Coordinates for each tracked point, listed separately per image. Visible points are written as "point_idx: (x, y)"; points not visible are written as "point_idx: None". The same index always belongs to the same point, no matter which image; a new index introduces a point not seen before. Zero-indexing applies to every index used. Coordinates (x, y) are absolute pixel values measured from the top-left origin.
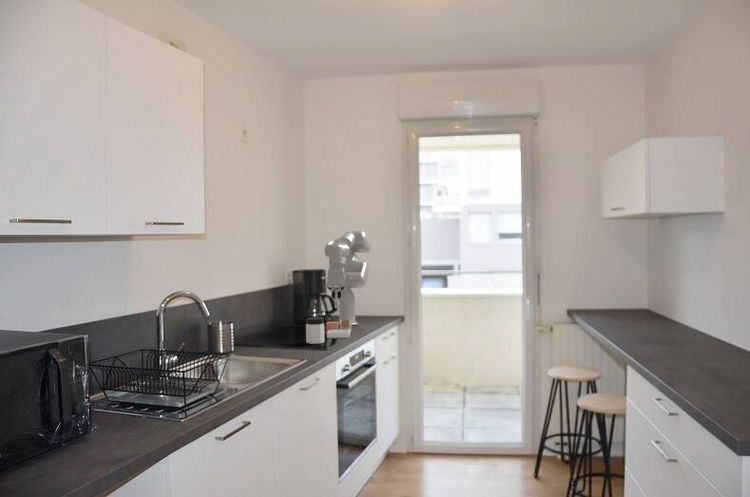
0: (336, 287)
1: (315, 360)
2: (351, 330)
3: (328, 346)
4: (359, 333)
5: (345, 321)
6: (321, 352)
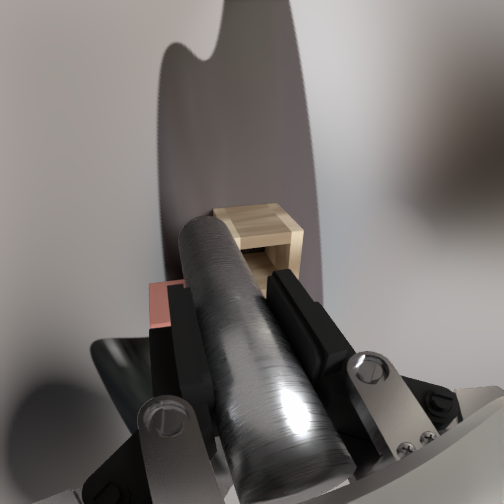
0: (301, 500)
1: (224, 497)
2: (277, 204)
3: (223, 457)
4: (312, 295)
5: (265, 297)
6: (221, 480)
